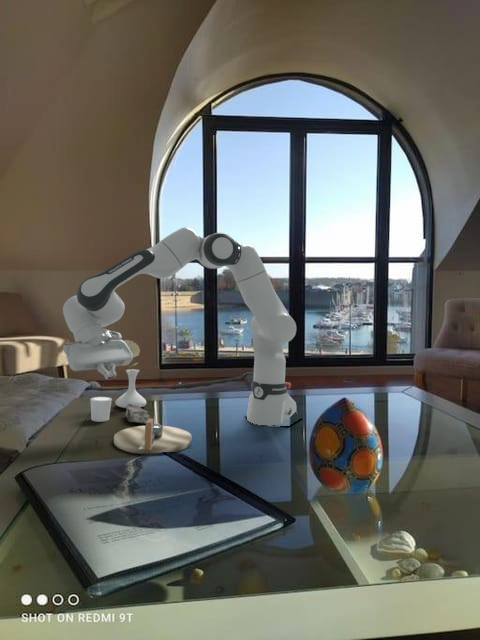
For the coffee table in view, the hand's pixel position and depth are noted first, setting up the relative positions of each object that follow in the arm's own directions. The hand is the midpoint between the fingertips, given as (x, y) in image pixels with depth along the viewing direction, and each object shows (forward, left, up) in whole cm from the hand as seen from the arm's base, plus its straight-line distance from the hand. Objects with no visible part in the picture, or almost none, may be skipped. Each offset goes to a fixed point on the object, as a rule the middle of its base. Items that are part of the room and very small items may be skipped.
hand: (111, 377), depth 131 cm
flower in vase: (-27, -25, -18) cm, 41 cm away
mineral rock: (-18, -9, -18) cm, 27 cm away
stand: (-7, +12, -18) cm, 22 cm away
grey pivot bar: (-5, +13, -16) cm, 21 cm away
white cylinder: (-9, -17, -18) cm, 26 cm away
